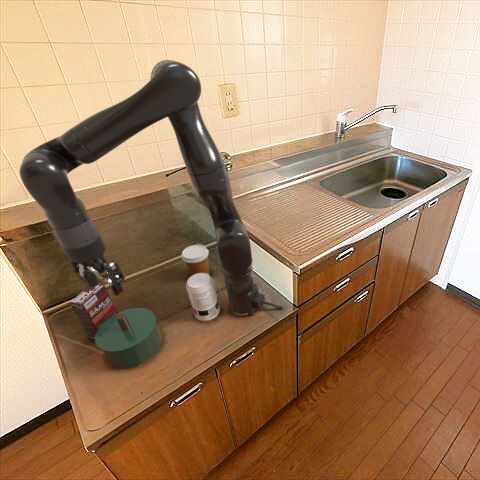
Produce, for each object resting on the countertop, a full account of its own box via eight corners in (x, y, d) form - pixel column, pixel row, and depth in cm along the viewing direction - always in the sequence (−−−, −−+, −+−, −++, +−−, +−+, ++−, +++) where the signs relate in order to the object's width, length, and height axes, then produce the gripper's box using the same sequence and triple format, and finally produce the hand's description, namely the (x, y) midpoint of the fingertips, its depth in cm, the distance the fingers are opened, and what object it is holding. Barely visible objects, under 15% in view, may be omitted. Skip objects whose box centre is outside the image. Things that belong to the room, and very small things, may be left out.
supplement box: (103, 341, 97) (82, 305, 88) (90, 338, 98) (67, 302, 89) (123, 320, 104) (105, 284, 95) (110, 317, 105) (91, 282, 96)
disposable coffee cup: (203, 287, 118) (196, 261, 111) (182, 280, 121) (174, 255, 114) (218, 271, 125) (213, 247, 118) (198, 265, 128) (192, 241, 121)
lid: (168, 318, 96) (163, 303, 92) (126, 360, 83) (118, 346, 80) (128, 304, 100) (121, 290, 96) (83, 343, 88) (73, 329, 84)
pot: (172, 335, 100) (165, 317, 95) (136, 375, 88) (126, 357, 84) (136, 322, 104) (127, 305, 99) (96, 359, 92) (85, 341, 88)
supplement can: (190, 318, 105) (179, 285, 97) (205, 301, 112) (196, 269, 103) (210, 325, 103) (201, 292, 95) (225, 307, 110) (217, 275, 101)
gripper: (41, 240, 72) (73, 292, 81) (88, 253, 68) (115, 306, 77) (72, 224, 78) (98, 274, 87) (117, 235, 74) (139, 286, 83)
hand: (106, 289), depth 82 cm, fingers open, 8 cm apart
